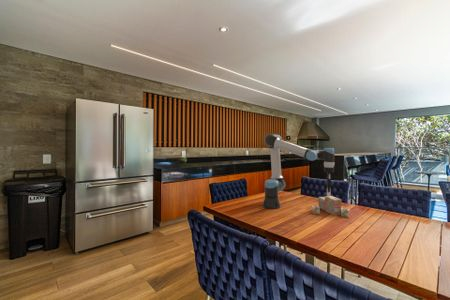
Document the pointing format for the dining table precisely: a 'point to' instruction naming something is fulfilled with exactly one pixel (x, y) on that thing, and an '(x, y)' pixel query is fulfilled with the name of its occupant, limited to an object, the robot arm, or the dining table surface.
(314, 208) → the marked cube left
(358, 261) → the dining table surface
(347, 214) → the marked cube right
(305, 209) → the dining table surface
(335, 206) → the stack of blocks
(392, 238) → the dining table surface
